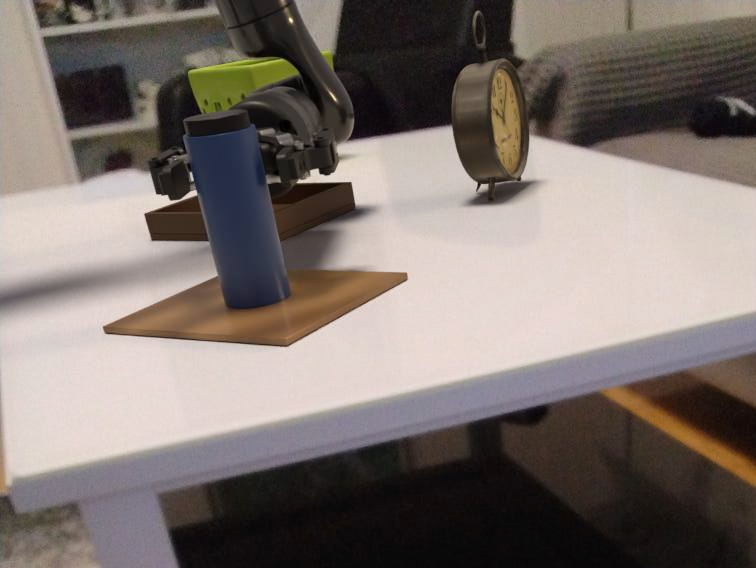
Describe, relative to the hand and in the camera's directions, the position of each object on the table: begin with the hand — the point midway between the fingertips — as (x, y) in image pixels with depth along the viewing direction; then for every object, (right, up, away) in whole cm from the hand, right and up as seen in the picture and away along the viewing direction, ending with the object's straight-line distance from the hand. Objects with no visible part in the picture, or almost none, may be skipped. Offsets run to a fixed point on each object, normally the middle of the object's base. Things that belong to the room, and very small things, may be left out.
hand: (226, 178), depth 75 cm
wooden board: (+1, -7, +6) cm, 9 cm away
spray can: (+1, -7, +6) cm, 9 cm away
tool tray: (-5, +10, +33) cm, 35 cm away
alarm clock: (+20, +13, +32) cm, 40 cm away
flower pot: (-8, +30, +63) cm, 70 cm away
